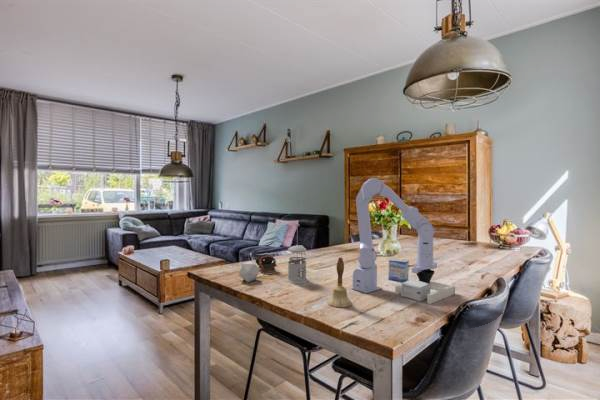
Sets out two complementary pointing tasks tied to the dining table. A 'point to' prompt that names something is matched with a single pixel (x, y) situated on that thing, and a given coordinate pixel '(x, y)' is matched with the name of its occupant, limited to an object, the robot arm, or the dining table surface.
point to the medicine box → (398, 270)
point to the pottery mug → (266, 263)
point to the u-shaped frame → (443, 292)
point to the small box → (415, 289)
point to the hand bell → (339, 289)
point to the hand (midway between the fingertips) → (424, 289)
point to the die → (248, 271)
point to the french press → (297, 265)
